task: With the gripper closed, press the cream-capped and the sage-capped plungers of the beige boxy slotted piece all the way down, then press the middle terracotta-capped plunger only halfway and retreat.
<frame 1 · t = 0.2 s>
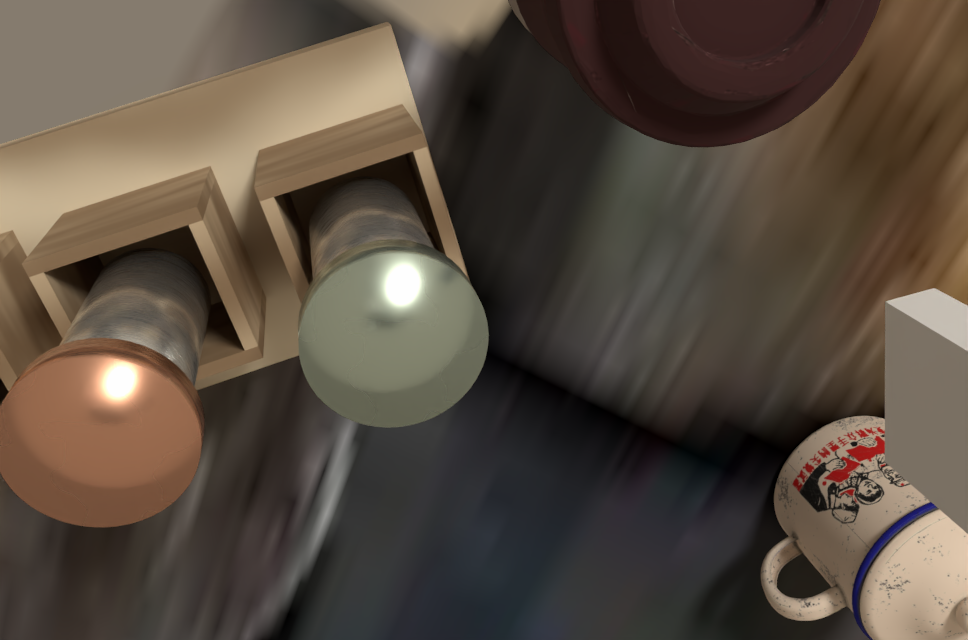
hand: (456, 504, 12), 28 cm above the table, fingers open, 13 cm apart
terracotta plunger: (130, 361, 27), point 11 cm above the table, slide at 0.0 cm
beige boxy slotted piece: (173, 246, 38), on the table
sage plunger: (377, 277, 28), point 11 cm above the table, slide at 0.0 cm
teacup with lid: (816, 489, 51), on the table
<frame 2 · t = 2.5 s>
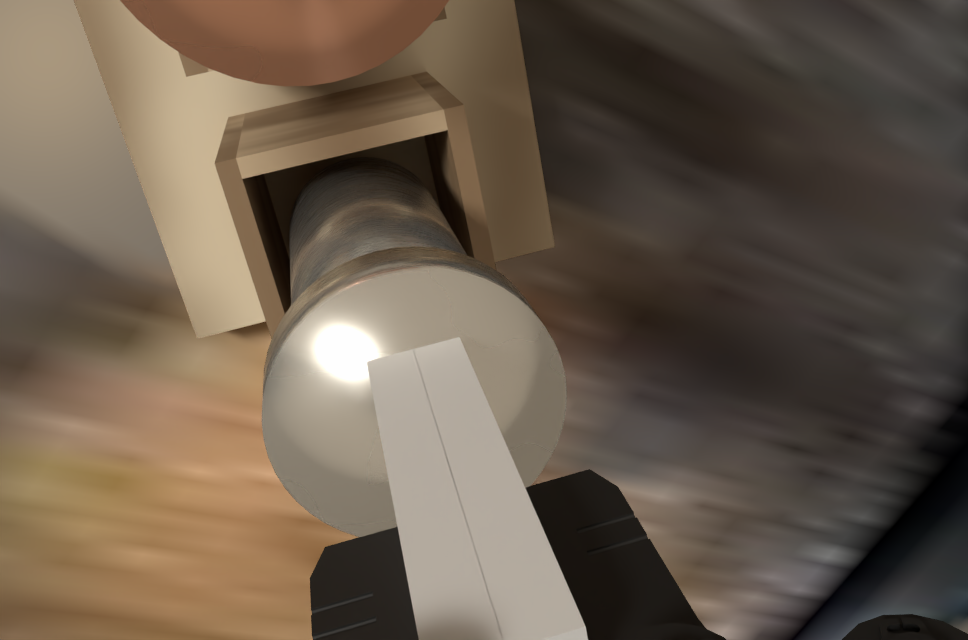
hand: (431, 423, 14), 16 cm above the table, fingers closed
cream plunger: (386, 301, 19), point 11 cm above the table, slide at -0.5 cm, touching gripper
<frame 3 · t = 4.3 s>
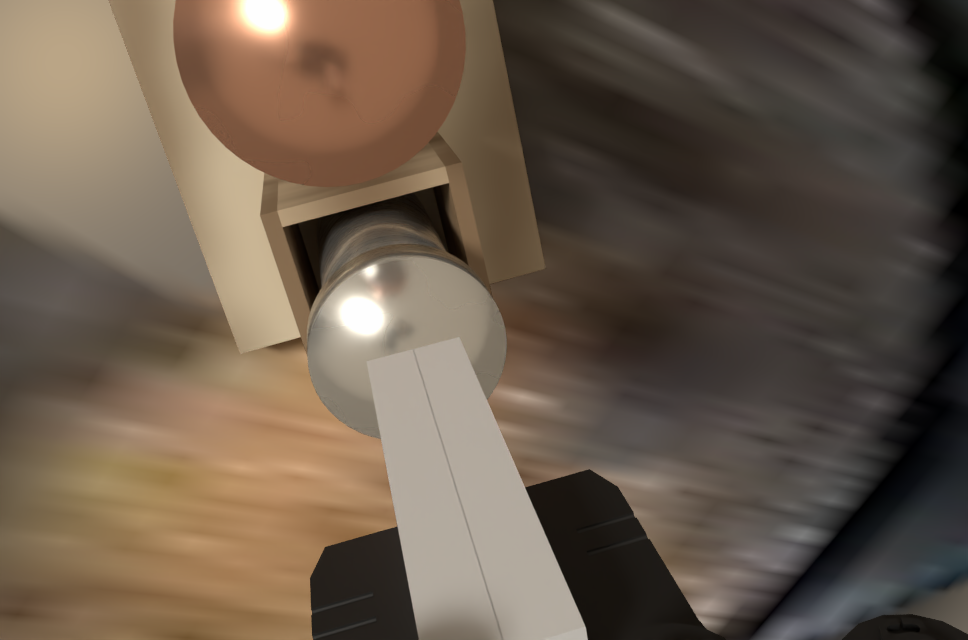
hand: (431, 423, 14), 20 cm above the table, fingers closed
terracotta plunger: (316, 22, 20), point 11 cm above the table, slide at 0.0 cm
cream plunger: (388, 283, 27), point 8 cm above the table, slide at -3.8 cm
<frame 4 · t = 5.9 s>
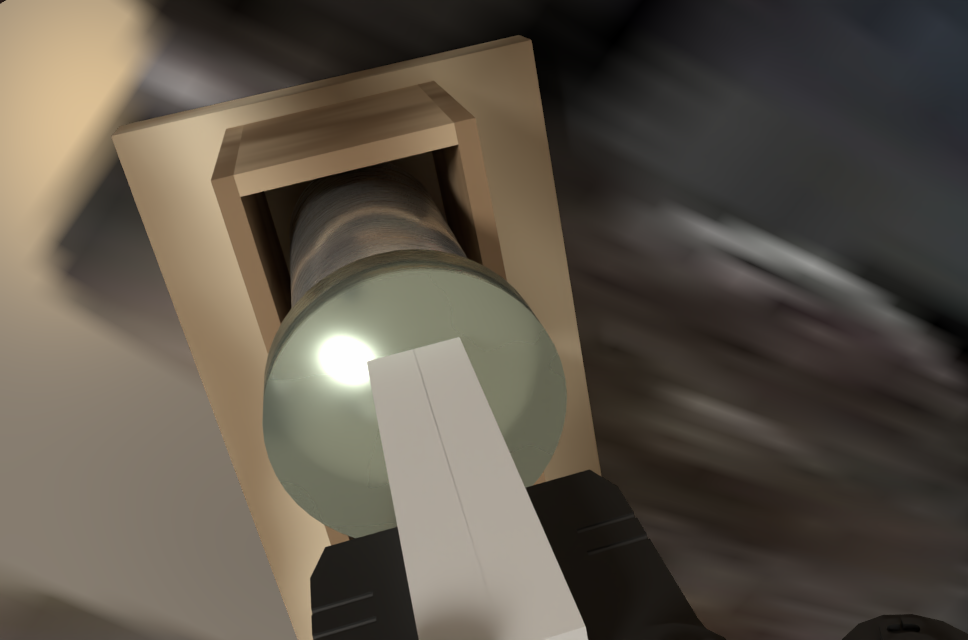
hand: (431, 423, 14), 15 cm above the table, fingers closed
beige boxy slotted piece: (410, 409, 31), on the table
sage plunger: (386, 303, 19), point 10 cm above the table, slide at -1.9 cm, touching gripper
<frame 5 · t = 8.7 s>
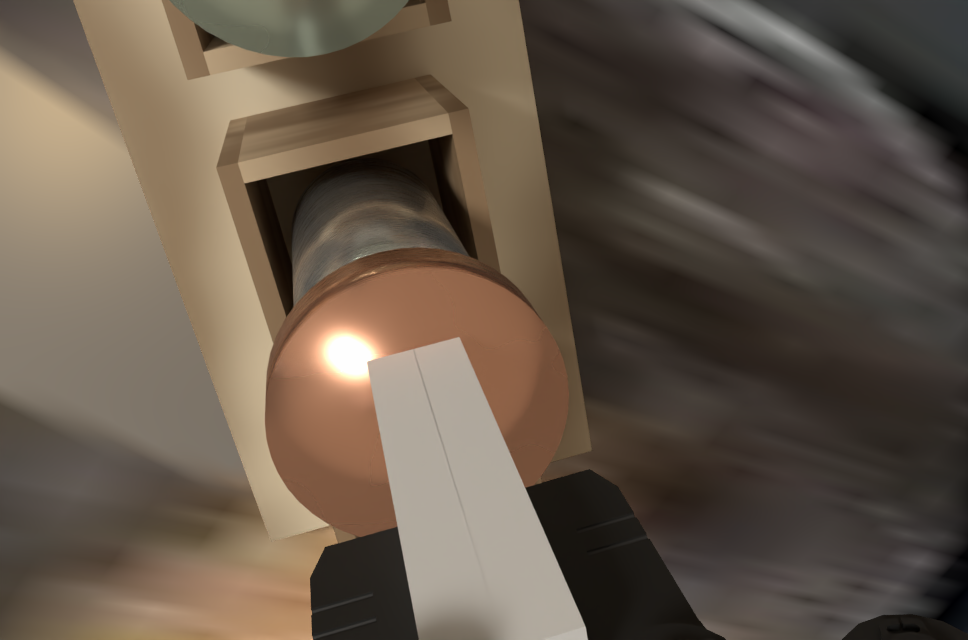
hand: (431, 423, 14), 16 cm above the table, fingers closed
terracotta plunger: (388, 302, 19), point 11 cm above the table, slide at -0.8 cm, touching gripper
beige boxy slotted piece: (353, 182, 29), on the table
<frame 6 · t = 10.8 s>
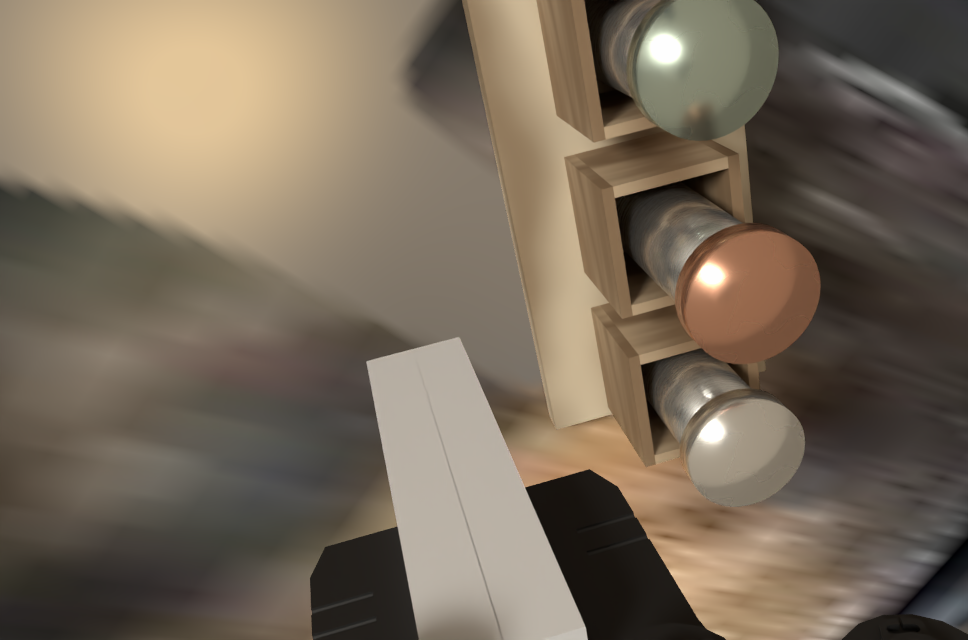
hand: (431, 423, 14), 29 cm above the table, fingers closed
terracotta plunger: (698, 254, 36), point 10 cm above the table, slide at -1.8 cm
cream plunger: (699, 397, 41), point 8 cm above the table, slide at -3.8 cm
beige boxy slotted piece: (623, 192, 45), on the table
sage plunger: (656, 49, 35), point 8 cm above the table, slide at -3.8 cm
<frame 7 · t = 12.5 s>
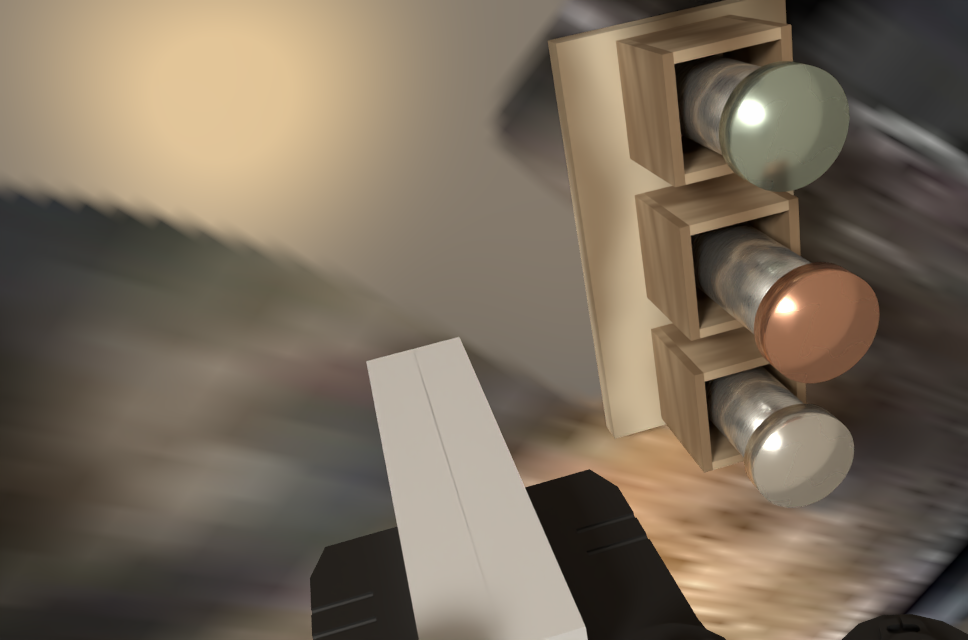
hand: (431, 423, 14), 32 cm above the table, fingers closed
terracotta plunger: (764, 285, 41), point 10 cm above the table, slide at -1.8 cm
cream plunger: (754, 411, 46), point 8 cm above the table, slide at -3.8 cm
beige boxy slotted piece: (681, 226, 50), on the table
sage plunger: (732, 108, 40), point 8 cm above the table, slide at -3.8 cm
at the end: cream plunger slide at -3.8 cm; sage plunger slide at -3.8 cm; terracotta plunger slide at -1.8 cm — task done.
